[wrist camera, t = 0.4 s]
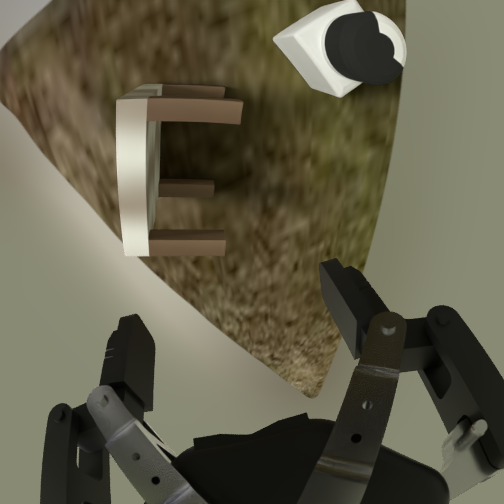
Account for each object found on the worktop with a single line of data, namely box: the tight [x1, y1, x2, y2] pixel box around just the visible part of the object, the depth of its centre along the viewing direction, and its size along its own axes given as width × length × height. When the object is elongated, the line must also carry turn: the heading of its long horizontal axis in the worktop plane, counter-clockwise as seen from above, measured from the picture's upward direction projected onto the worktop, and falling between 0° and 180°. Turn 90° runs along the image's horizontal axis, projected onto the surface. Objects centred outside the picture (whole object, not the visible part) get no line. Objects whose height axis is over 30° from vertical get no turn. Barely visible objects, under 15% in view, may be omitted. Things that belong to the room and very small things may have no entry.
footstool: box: [116, 84, 243, 256], centre depth 25 cm, size 12×8×12 cm, turn 172°
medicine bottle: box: [273, 0, 407, 97], centre depth 21 cm, size 7×7×12 cm
